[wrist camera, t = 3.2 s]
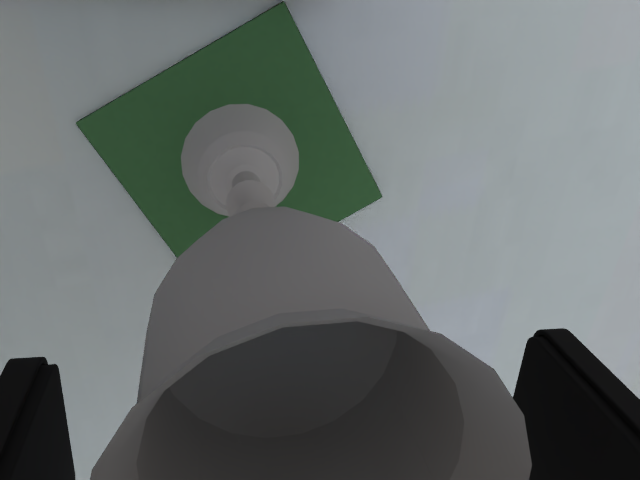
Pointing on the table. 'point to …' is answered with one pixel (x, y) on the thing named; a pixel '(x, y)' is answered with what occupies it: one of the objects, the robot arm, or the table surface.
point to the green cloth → (220, 90)
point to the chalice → (298, 346)
